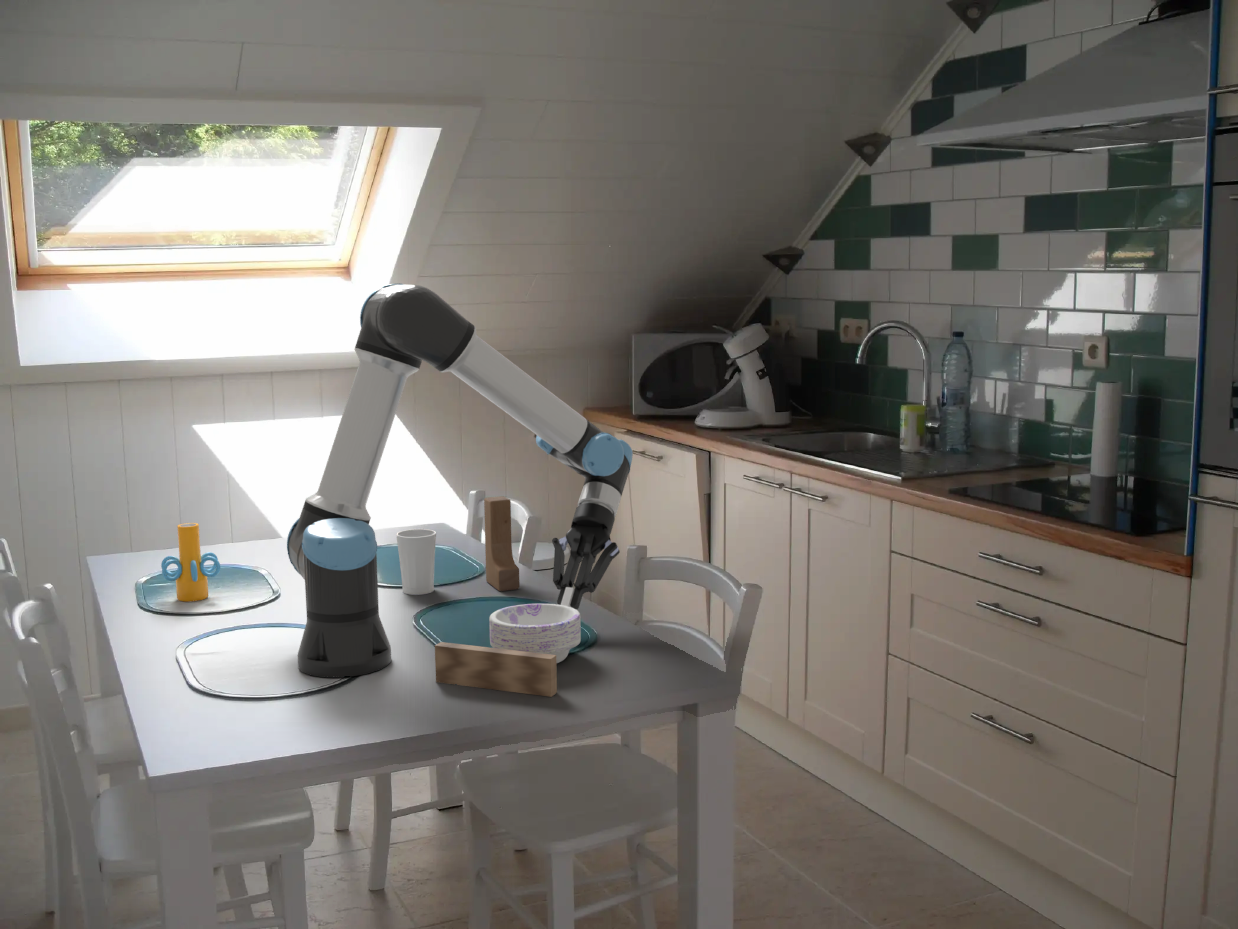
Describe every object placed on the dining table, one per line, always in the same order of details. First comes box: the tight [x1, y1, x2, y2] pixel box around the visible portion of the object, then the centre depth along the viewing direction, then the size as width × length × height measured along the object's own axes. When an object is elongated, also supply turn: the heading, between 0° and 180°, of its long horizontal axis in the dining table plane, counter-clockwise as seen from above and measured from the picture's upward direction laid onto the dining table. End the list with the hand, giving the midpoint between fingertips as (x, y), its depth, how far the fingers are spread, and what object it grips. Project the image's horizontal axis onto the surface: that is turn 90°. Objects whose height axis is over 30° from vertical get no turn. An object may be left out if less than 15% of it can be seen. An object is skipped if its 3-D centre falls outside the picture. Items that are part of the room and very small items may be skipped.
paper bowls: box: [488, 603, 582, 665], centre depth 200 cm, size 15×15×8 cm
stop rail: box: [434, 641, 558, 698], centre depth 186 cm, size 20×2×6 cm, turn 69°
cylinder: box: [160, 522, 221, 603], centre depth 239 cm, size 12×10×15 cm
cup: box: [396, 528, 437, 596], centre depth 243 cm, size 8×8×12 cm
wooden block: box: [483, 495, 520, 592], centre depth 246 cm, size 9×4×18 cm, turn 24°
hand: (562, 623), depth 210 cm, fingers closed
